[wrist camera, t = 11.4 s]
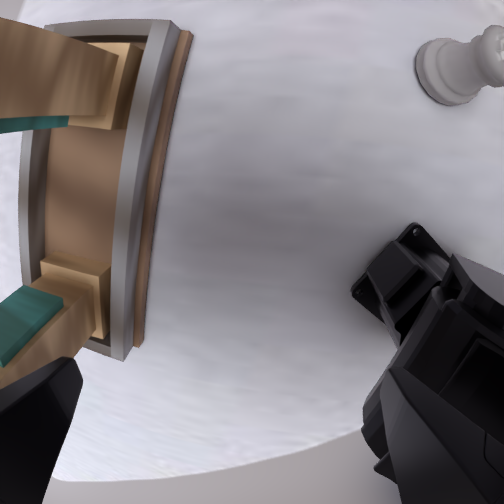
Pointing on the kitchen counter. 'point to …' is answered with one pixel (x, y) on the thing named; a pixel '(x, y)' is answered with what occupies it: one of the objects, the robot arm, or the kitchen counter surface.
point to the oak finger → (53, 314)
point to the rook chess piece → (462, 66)
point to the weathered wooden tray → (92, 148)
